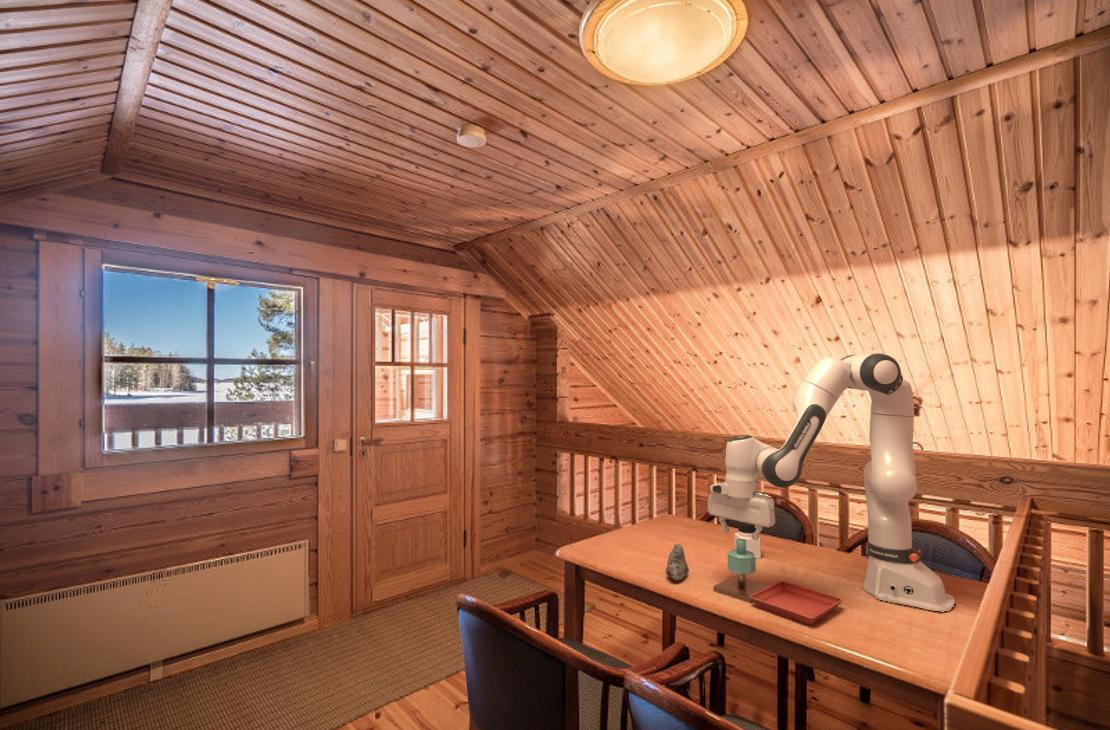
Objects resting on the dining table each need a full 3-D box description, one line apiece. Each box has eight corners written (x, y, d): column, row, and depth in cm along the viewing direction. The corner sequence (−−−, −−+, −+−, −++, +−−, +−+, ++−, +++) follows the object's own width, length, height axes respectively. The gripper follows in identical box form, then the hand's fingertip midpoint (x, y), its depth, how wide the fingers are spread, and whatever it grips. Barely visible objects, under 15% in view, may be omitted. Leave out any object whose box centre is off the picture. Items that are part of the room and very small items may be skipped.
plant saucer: (748, 607, 151) (748, 595, 151) (781, 590, 162) (781, 579, 162) (812, 631, 137) (812, 618, 137) (844, 611, 148) (843, 599, 148)
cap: (759, 569, 161) (758, 540, 161) (747, 576, 156) (746, 545, 156) (736, 563, 167) (735, 534, 167) (724, 569, 162) (723, 540, 162)
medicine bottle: (761, 558, 189) (760, 524, 189) (740, 558, 189) (740, 524, 190) (754, 552, 196) (753, 519, 196) (734, 552, 196) (734, 519, 197)
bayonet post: (770, 591, 161) (770, 556, 161) (751, 603, 153) (750, 566, 153) (733, 580, 170) (733, 546, 170) (713, 591, 162) (713, 556, 162)
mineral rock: (675, 586, 166) (675, 553, 166) (648, 576, 174) (648, 545, 174) (700, 575, 174) (699, 544, 174) (673, 566, 182) (672, 537, 183)
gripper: (779, 493, 156) (779, 541, 156) (715, 482, 171) (715, 526, 171) (769, 497, 152) (769, 546, 152) (705, 485, 167) (704, 530, 167)
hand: (740, 535), depth 162 cm, fingers open, 8 cm apart
